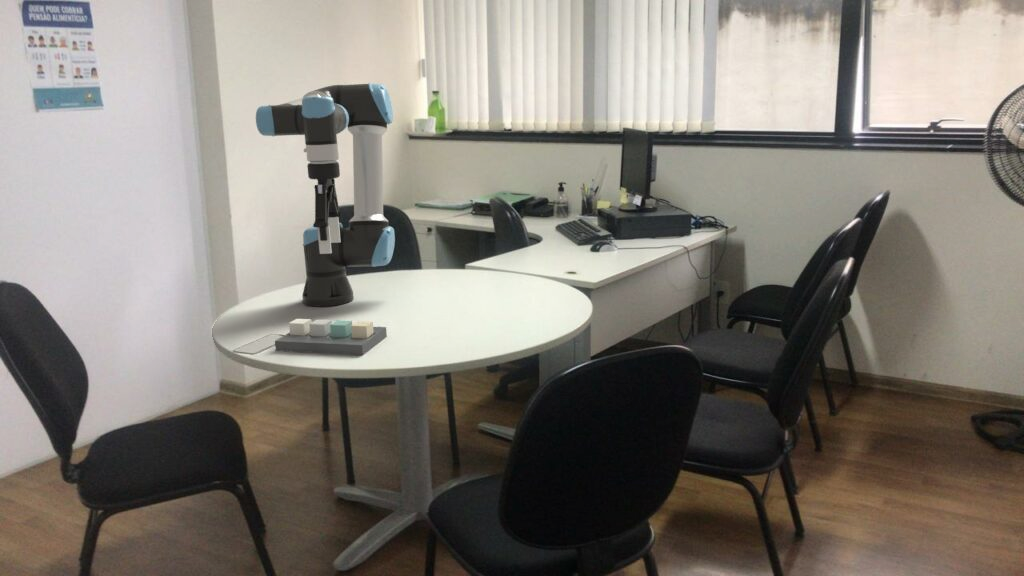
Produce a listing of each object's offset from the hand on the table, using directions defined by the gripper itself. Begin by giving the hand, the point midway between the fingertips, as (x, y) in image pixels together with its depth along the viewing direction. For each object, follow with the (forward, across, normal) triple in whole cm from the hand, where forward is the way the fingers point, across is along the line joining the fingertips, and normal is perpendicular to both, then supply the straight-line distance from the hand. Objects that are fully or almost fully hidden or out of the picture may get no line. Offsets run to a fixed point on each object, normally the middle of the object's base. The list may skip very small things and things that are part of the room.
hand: (330, 247), depth 198 cm
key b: (+21, +4, -4) cm, 22 cm away
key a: (+21, +2, -9) cm, 23 cm away
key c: (+21, +5, +2) cm, 22 cm away
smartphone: (+24, +2, -18) cm, 31 cm away
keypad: (+24, +4, -1) cm, 24 cm away
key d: (+21, +7, +7) cm, 23 cm away
